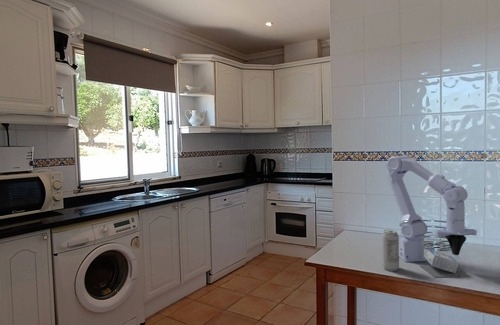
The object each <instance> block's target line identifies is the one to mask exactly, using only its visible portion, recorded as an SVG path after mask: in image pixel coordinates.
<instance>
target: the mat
mask: <svg viewBox="0 0 500 325" xmlns="http://www.w3.org/2000/svg"><path fill="white" fill-rule="evenodd" d="M419 267H420V268H422V269H423V270H424V271H425V272H427V274H429V275H431V276H432V277H433V278H434V279H435V278H460V277H461V276H460V275H459V274H457V272H456V273H453V272H449V271H446V270H443V269H440V268H437V267H434V266H432V265H431V264H425V265H424V264H423V265H420V264H419Z"/></svg>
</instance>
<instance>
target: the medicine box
mask: <svg viewBox="0 0 500 325" xmlns="http://www.w3.org/2000/svg"><path fill="white" fill-rule="evenodd" d="M424 257H425V260H426V261H425V262H428V264H429V265H432V266H434V267H437V268H440V269H443V270H446V271H449V272H453V273H456V274H457V270H458V266H459V263H460V262H459V261H458V260H456V259H455V258H453V257H452V256H450V255H447V254H444V253H442V252H439V251H436V250H433V249H432V250H431V249H427V252H426V254H425V256H424Z"/></svg>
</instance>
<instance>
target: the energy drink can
mask: <svg viewBox="0 0 500 325" xmlns="http://www.w3.org/2000/svg"><path fill="white" fill-rule="evenodd" d="M399 239H400V236H399V234H398V231H397V230H394V229H384V230H383V232H382V234H381V250H382V251H381V252H382V253H381V255H382V260H381V261H382V267H383V268H384V270H386V271H390V272H396V271H398V269H399V268H400V257H399Z"/></svg>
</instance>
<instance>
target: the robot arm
mask: <svg viewBox="0 0 500 325" xmlns="http://www.w3.org/2000/svg"><path fill="white" fill-rule="evenodd" d="M385 167H386V168H387V180H388V182H389V185H390V187H391V190H392V193H393V196H394V198H395V201H396V203H397V206H398V209H399V211H400V215H401V219H400V221H399V223H400V231H401V234H402V235H403V237H399V259H401V260H403V261H404V262H406V263H407V262H408V263H409V262H411V263H412V262H427V261H426V260H425V257H426V256H425V235H426V233H428V226H427V224H426V223H425V221H424V220H423V218H422V217H421V216H420V215H419V214H417V212H416V210H415V208H414V205H413V203H412V200H411V197H410V194H409V191H408V190H407V187H406V184H405V182H404V176H406V173H408V172H412V173H414V174H415V175H417V176H419V178H422V179H423V180H425V181H427V184H428V186H429V187H430V188H431V189H433V190H434V191H436V192H437V193H439V194H440V195H441V196H442V197H443V199H444V201H445V204H446V228H443V229H436V230H434V236H435V237H439V238H441V237H445V239H446V241H447V242H448V244H449V247H450V250H451V253H452V254H451V255H454V256H460V253H461V249H462V246H463V245H464V244H465V242H466V241H467V237H466V236H477V235H478V234H477V232H478V231H477V230H476V229H474V228H465V219H466V218H465V210H466V209H465V201H466V200H467V198H468V195H469V194H468V192H467V190H466V189H465V188H464V186H461V185H458V186H457V185H456V183H455V182H451V181H450V180H448V179H446V178H445V177H446V176H445V175H443V174H434V173H432V172H431V171H430V170H429V169H427V168H426V167H424V166H423V165H422V164H420V163H419V162H418V161H417V160H416V159H415V158H413V157H412V156H410V155H407V154H406V155H405V154H404V155H398V156H396V155H395V156H394V155H393V156H391V157H389V158H388V160H387V161H386V164H385Z"/></svg>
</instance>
